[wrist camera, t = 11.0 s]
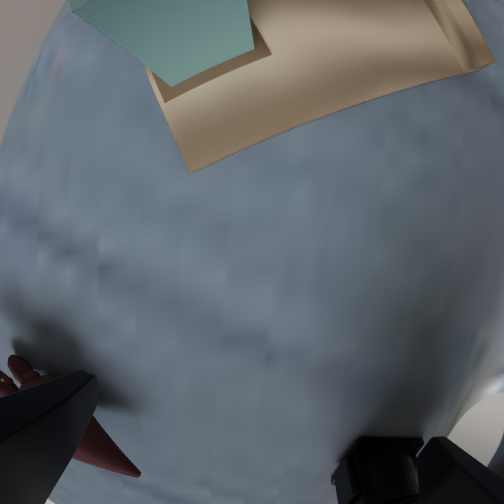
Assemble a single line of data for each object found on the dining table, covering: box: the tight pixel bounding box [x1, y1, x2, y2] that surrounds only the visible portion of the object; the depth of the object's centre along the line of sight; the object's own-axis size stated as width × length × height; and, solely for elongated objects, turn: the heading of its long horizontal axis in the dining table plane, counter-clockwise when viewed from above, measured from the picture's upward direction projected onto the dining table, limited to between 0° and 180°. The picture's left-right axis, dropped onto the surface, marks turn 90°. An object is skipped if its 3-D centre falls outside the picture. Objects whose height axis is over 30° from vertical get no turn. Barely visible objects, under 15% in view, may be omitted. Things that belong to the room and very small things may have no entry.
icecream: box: [0, 355, 141, 478], centre depth 19 cm, size 7×7×15 cm
